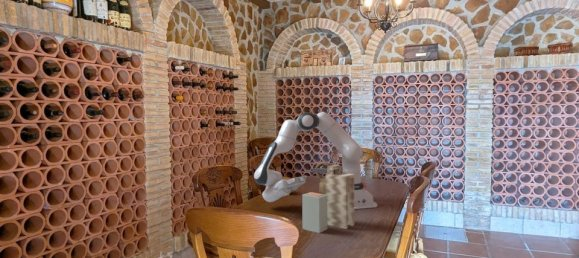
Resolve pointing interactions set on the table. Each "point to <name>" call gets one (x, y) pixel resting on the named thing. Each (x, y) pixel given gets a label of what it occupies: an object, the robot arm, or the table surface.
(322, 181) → the ceramic vessel
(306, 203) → the grey-green upright block
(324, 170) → the strip
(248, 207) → the table surface
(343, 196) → the beige patterned tall block
